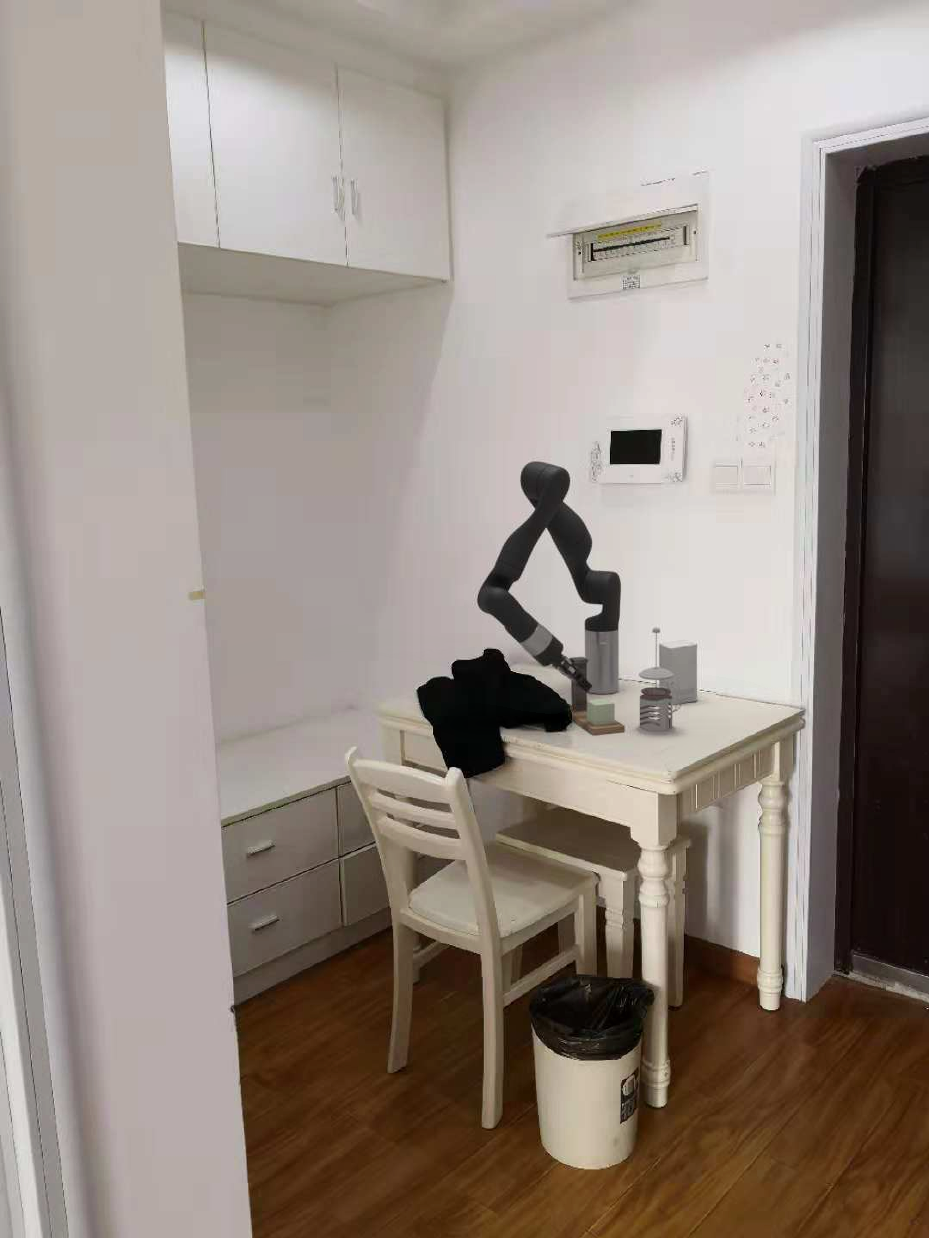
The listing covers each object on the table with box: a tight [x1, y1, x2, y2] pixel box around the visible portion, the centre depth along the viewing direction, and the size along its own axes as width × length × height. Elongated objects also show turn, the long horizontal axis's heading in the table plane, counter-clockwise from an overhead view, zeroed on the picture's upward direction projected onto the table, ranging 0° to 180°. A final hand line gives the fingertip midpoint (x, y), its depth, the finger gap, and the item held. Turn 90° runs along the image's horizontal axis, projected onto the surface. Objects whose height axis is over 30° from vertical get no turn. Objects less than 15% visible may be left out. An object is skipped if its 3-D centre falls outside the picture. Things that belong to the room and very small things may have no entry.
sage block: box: [587, 698, 616, 726], centre depth 252 cm, size 5×5×5 cm
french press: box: [635, 626, 683, 736], centre depth 247 cm, size 10×12×25 cm
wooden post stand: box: [569, 656, 626, 736], centre depth 257 cm, size 22×8×14 cm, turn 15°
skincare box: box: [658, 639, 698, 706], centre depth 275 cm, size 8×7×16 cm
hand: (586, 686), depth 265 cm, fingers closed on wooden post stand, 3 cm apart
